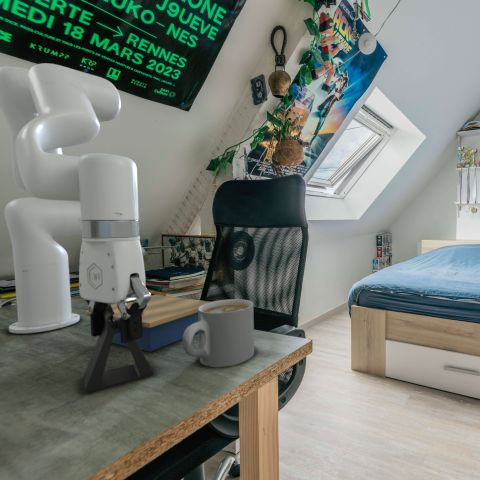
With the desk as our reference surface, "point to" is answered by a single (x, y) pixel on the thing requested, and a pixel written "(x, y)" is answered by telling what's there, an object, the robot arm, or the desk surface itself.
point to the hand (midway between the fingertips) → (117, 336)
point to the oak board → (163, 309)
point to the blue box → (161, 333)
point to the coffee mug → (222, 333)
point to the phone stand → (95, 370)
